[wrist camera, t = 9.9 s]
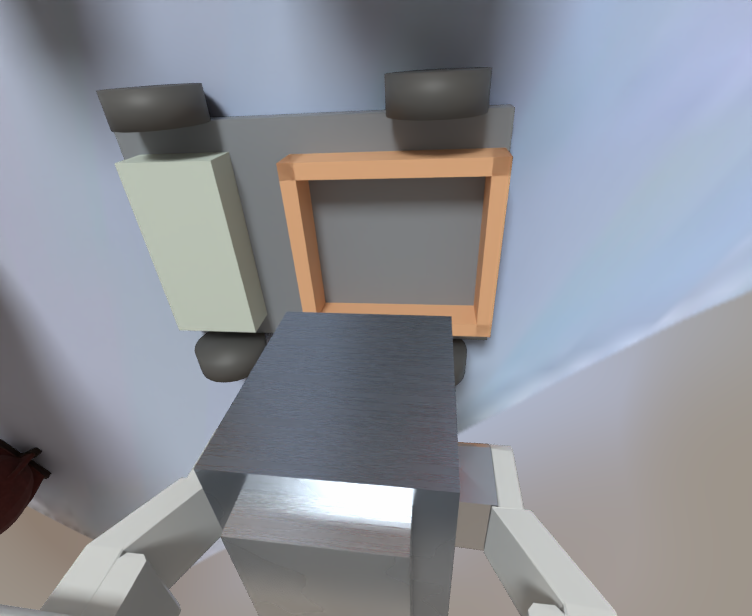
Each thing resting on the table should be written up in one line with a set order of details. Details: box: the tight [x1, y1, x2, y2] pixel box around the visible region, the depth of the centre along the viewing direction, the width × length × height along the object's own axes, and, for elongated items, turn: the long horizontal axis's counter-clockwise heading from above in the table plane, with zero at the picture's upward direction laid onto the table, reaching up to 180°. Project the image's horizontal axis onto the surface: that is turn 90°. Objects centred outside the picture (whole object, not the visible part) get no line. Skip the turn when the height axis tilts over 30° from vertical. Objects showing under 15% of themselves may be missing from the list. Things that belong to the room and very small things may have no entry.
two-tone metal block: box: [193, 312, 460, 616], centre depth 10 cm, size 4×6×6 cm
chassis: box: [96, 67, 515, 386], centre depth 22 cm, size 20×16×4 cm
